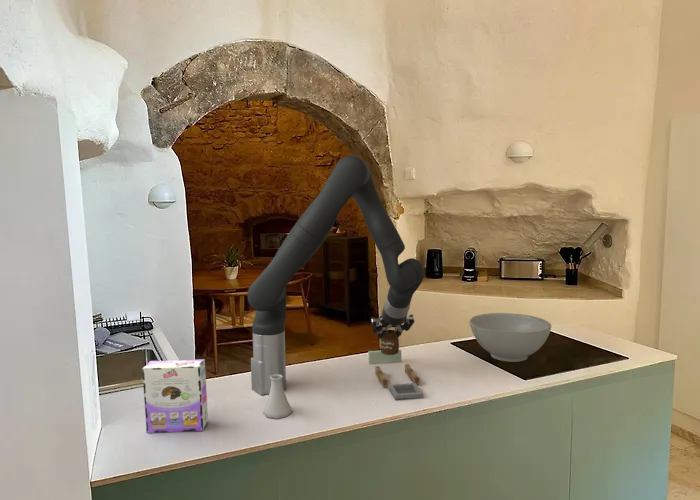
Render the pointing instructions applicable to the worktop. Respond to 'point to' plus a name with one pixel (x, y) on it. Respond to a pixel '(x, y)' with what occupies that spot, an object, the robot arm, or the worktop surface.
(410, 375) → the channel
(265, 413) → the flask
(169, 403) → the candy box
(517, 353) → the decorative bowl
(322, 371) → the worktop surface
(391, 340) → the brown jar with stick
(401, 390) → the grey flat square tray
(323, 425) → the worktop surface
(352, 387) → the worktop surface
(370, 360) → the end stop
